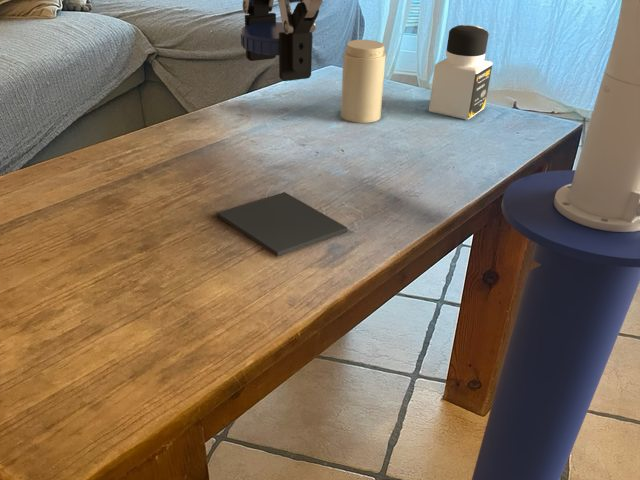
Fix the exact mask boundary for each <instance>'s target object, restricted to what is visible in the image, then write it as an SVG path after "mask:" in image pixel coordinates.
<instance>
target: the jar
mask: <svg viewBox="0 0 640 480" xmlns="http://www.w3.org/2000/svg"><path fill="white" fill-rule="evenodd" d="M342 57H343V59H342V62H343V63H342V78H341V79H342V80H341V99H340V100H341V101H340V102H341V103H340V117H341V119H343V120H344V121H345V120H346V121H348V122H352V123H360V124H366V123H367V124H368V123H373V122H377V121H379V120H381V116H382V106H383V94H384V82H385V71H386V70H385V69H386V59H387V54H386V52H385V44H384V43H382V42H381V41H378V40H373V39H354V40H349V41H347V42H346V49H345V50H343V56H342Z"/></svg>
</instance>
